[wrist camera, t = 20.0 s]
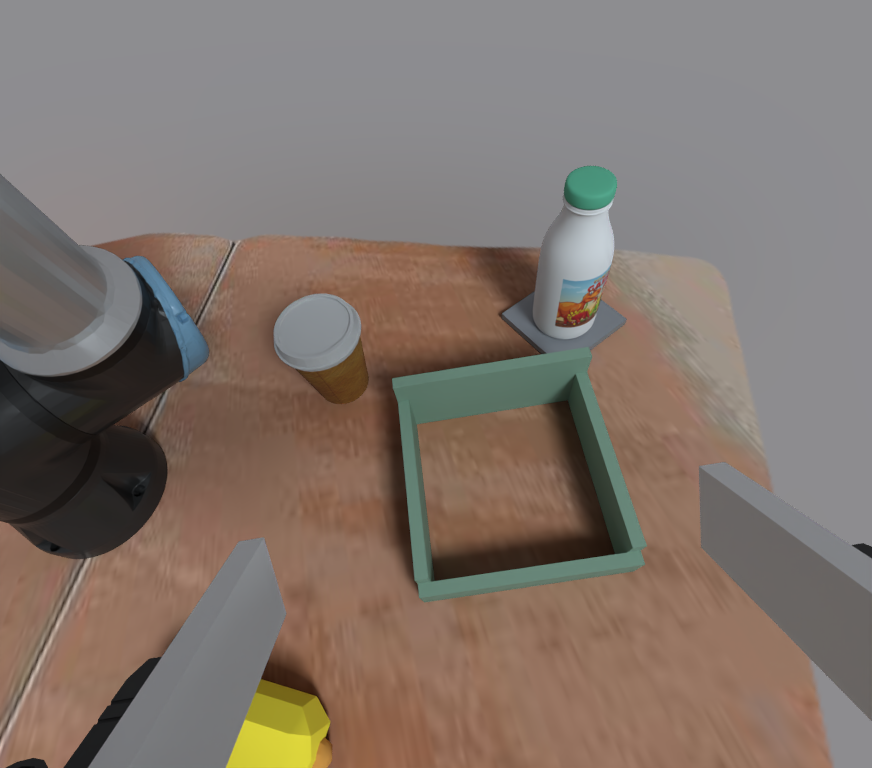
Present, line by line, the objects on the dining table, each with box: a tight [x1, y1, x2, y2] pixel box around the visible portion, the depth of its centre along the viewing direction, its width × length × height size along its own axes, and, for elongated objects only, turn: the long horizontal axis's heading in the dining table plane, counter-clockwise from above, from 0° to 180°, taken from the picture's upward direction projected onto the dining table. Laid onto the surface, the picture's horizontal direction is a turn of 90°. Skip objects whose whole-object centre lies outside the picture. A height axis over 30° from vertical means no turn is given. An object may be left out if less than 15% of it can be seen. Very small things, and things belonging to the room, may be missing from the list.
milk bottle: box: [533, 166, 617, 340], centre depth 51 cm, size 8×8×20 cm
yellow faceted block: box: [226, 679, 332, 768], centre depth 39 cm, size 18×7×8 cm
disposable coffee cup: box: [274, 294, 369, 404], centre depth 54 cm, size 10×10×12 cm
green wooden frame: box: [392, 347, 647, 602], centre depth 47 cm, size 20×20×9 cm
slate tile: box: [502, 291, 627, 354], centre depth 60 cm, size 11×11×1 cm
